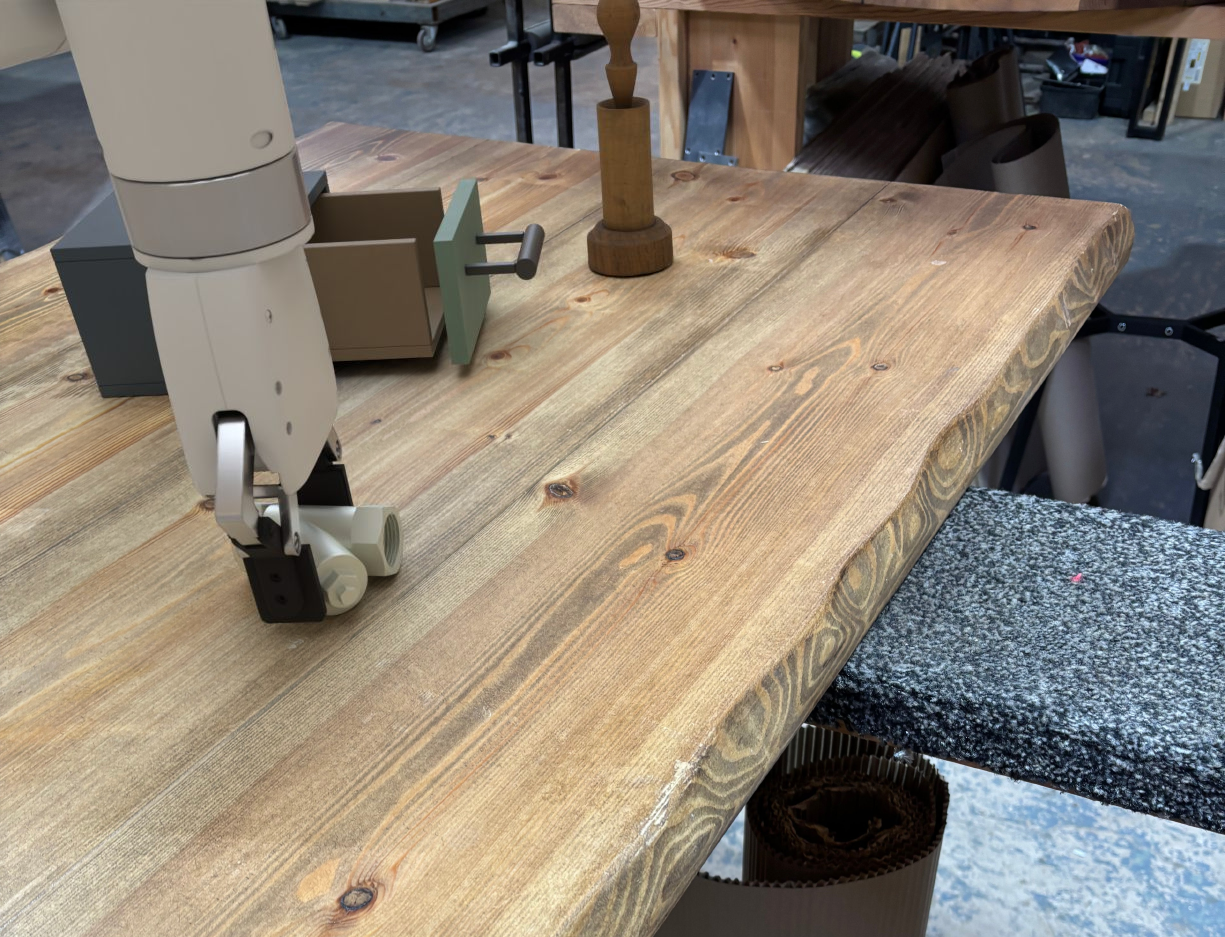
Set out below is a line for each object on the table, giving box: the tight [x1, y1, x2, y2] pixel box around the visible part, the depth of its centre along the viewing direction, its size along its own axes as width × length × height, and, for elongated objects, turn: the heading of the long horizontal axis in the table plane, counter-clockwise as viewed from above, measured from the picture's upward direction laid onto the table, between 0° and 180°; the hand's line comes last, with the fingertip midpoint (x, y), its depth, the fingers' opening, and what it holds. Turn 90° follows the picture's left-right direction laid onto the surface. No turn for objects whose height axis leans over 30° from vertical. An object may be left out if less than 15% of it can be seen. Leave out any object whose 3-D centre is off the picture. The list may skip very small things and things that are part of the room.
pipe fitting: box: [229, 501, 405, 616], centre depth 62 cm, size 8×4×7 cm
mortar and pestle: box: [586, 0, 674, 277], centre depth 90 cm, size 7×6×18 cm
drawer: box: [302, 178, 546, 366], centre depth 84 cm, size 18×13×8 cm
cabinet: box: [49, 169, 331, 398], centre depth 84 cm, size 15×14×10 cm
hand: (312, 574), depth 63 cm, fingers closed on pipe fitting, 7 cm apart
